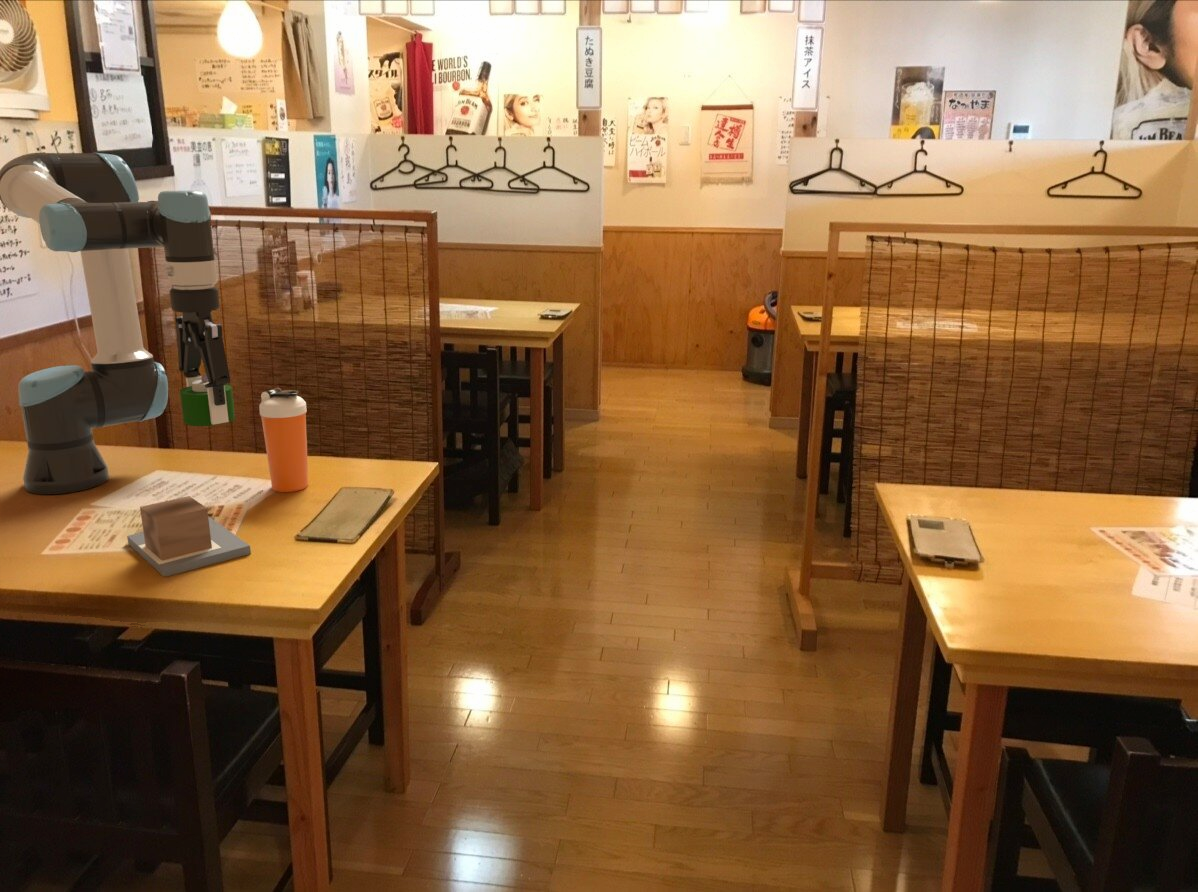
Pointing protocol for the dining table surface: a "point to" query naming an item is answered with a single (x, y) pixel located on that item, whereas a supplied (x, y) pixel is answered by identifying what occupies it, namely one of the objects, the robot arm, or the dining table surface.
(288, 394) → the shaker bottle
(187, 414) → the candle
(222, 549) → the board
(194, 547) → the block
